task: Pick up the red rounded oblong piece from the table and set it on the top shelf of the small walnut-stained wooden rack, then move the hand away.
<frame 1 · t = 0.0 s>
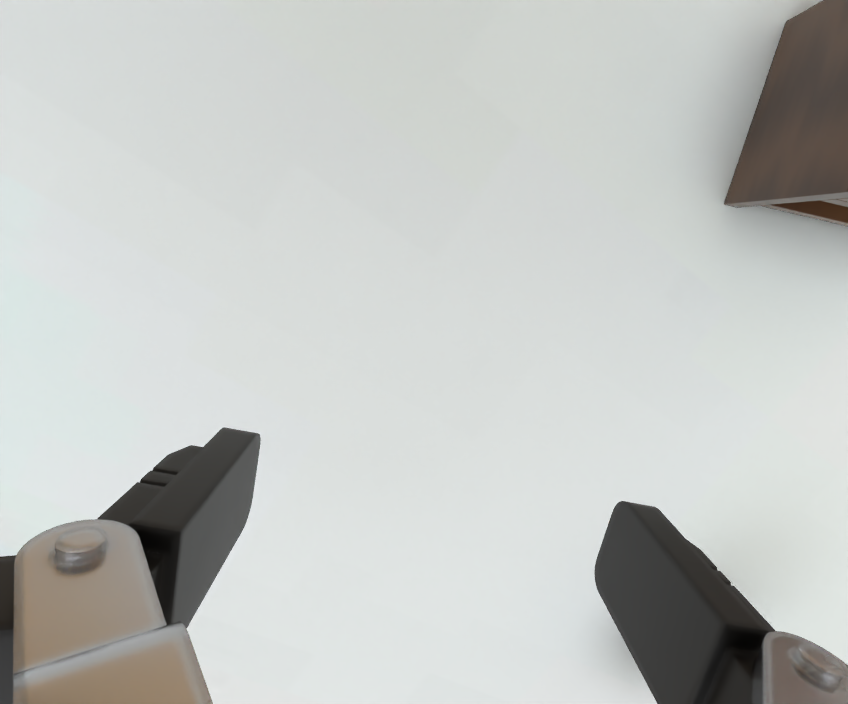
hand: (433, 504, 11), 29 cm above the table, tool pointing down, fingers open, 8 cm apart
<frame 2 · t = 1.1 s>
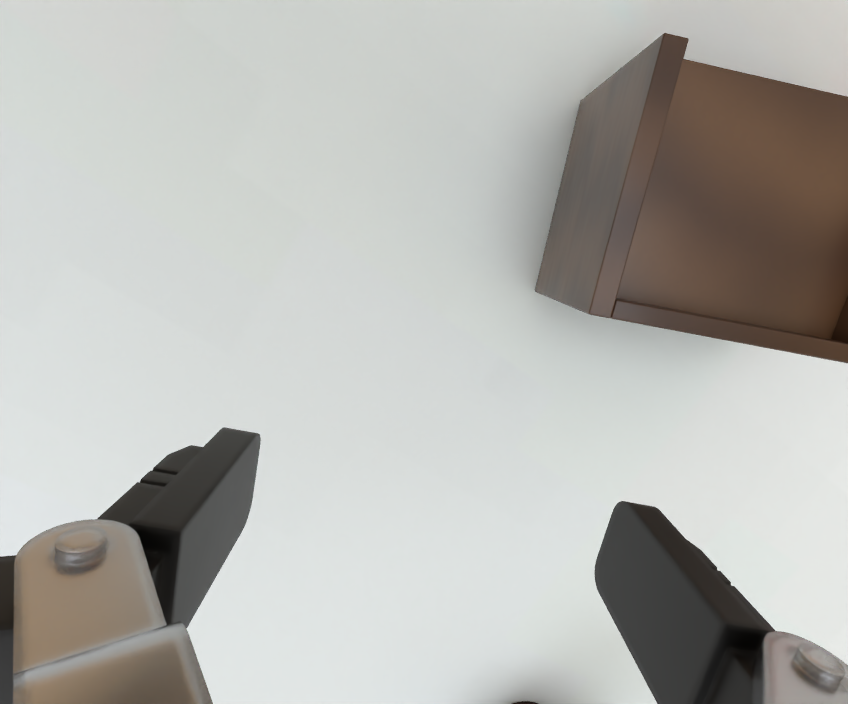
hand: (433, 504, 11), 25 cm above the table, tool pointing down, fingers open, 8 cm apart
rack: (664, 222, 34), on the table
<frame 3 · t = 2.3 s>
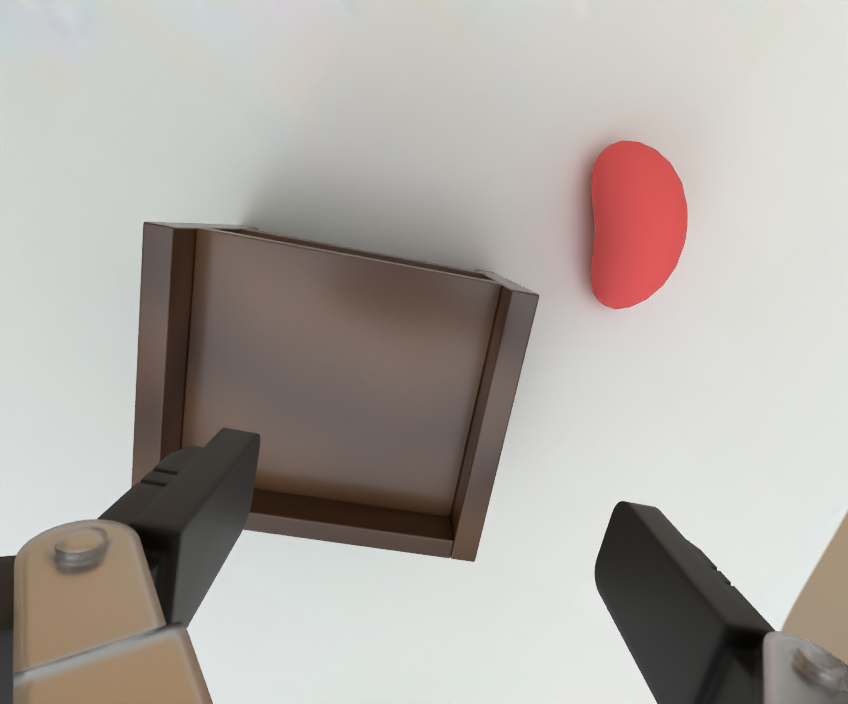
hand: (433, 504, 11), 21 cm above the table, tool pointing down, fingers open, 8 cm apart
red rounded oblong piece: (614, 229, 30), on the table
rack: (353, 349, 31), on the table
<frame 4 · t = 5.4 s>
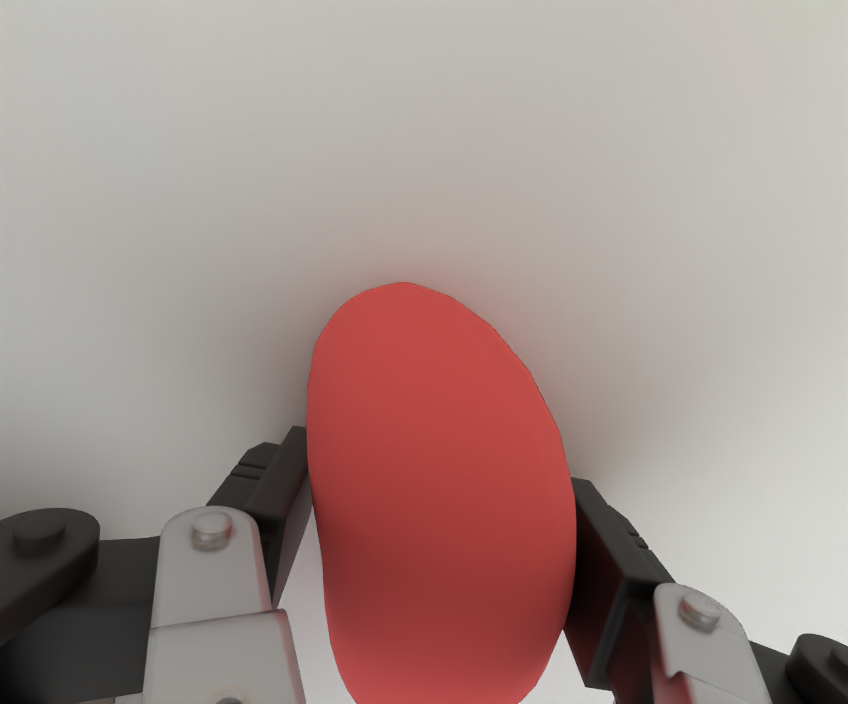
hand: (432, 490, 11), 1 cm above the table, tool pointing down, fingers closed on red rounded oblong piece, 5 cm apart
red rounded oblong piece: (427, 470, 12), on the table, touching gripper
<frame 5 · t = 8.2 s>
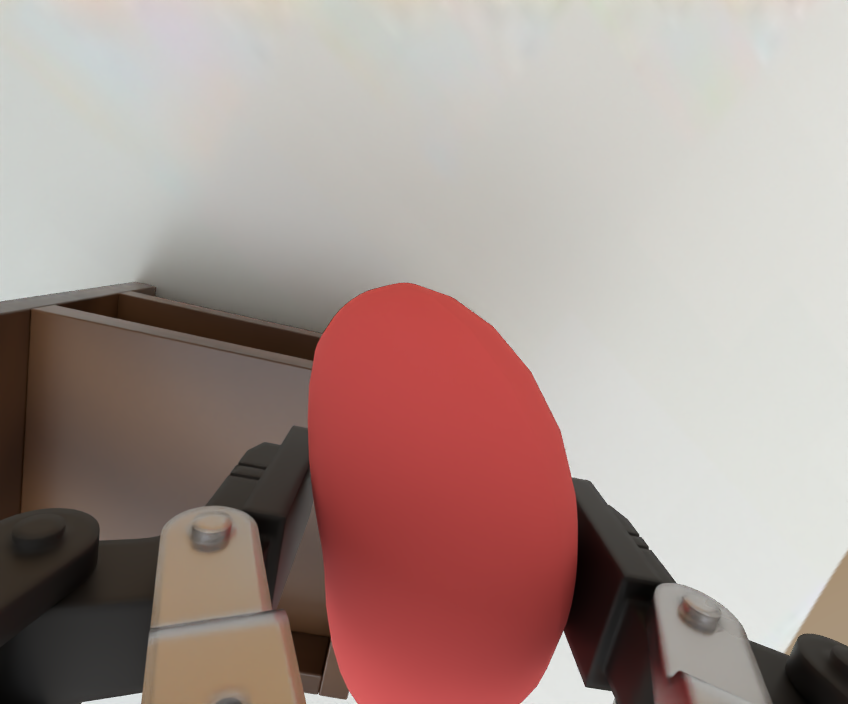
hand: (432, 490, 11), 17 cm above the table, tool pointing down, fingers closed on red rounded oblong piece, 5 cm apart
red rounded oblong piece: (428, 470, 12), point 16 cm above the table, touching gripper
rack: (260, 419, 29), on the table
when the fingers open (10 cm above the table, at t = 11.3 s): red rounded oblong piece stays where it is, resting on rack.
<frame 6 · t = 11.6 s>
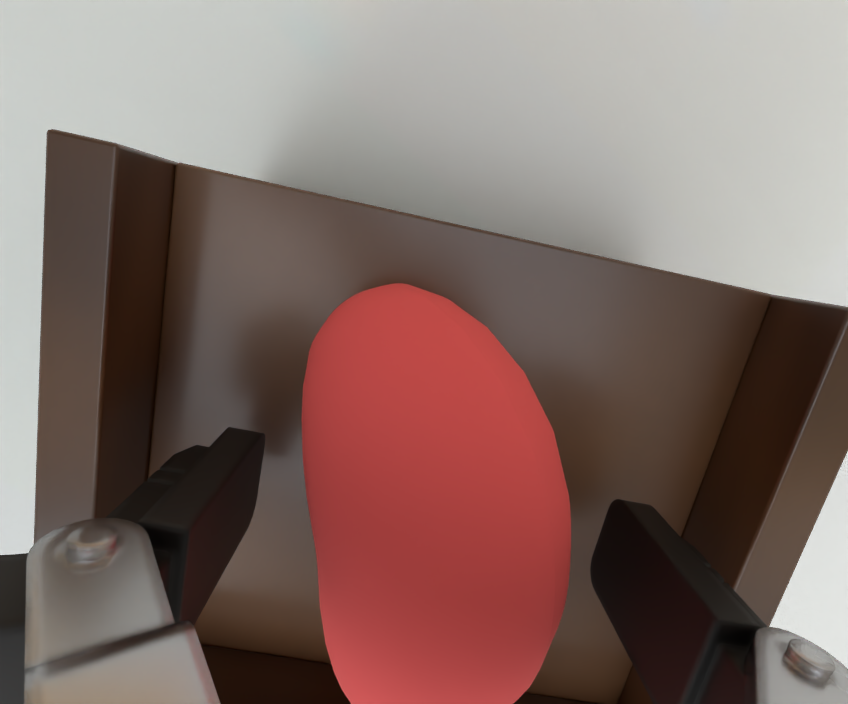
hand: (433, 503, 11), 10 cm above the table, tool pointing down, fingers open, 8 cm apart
red rounded oblong piece: (424, 470, 12), point 9 cm above the table, touching rack
rack: (420, 385, 21), on the table
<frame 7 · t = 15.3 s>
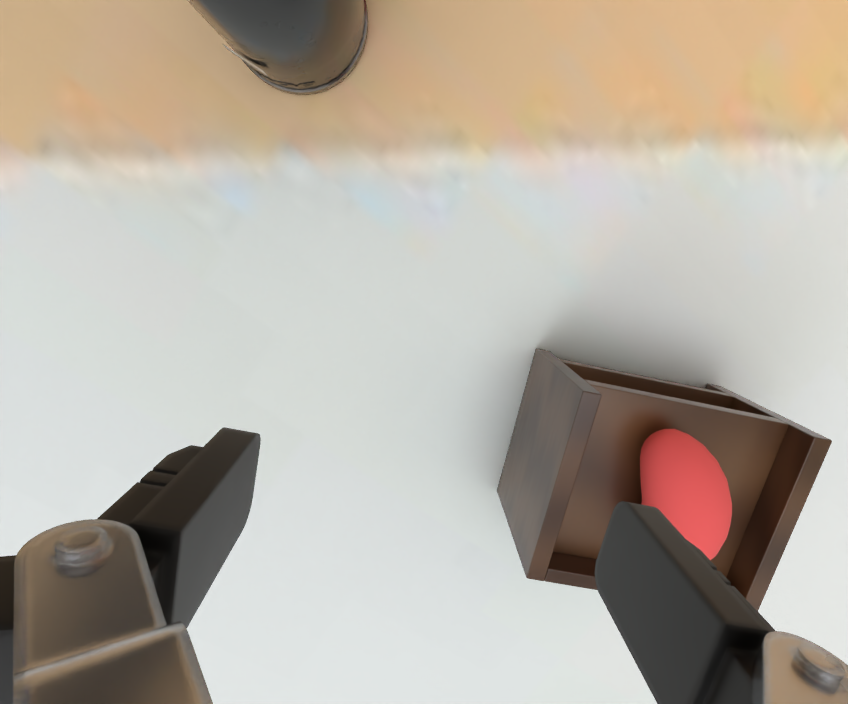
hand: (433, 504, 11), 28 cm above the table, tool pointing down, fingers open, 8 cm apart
red rounded oblong piece: (657, 486, 32), point 9 cm above the table, touching rack
rack: (606, 439, 41), on the table
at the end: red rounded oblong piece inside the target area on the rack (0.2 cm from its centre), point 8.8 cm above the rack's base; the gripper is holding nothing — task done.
